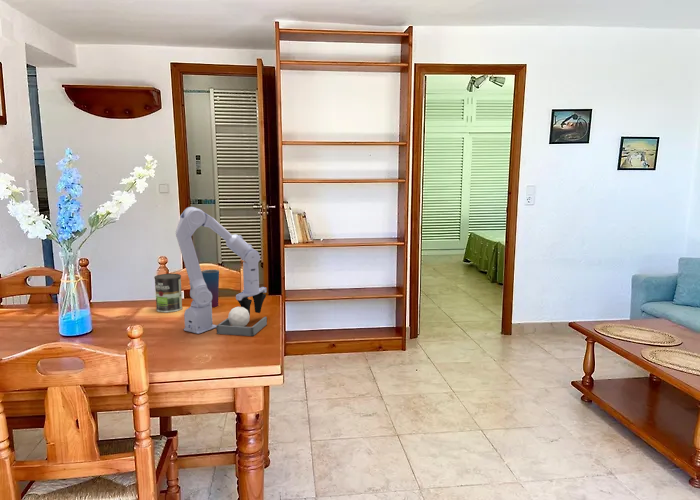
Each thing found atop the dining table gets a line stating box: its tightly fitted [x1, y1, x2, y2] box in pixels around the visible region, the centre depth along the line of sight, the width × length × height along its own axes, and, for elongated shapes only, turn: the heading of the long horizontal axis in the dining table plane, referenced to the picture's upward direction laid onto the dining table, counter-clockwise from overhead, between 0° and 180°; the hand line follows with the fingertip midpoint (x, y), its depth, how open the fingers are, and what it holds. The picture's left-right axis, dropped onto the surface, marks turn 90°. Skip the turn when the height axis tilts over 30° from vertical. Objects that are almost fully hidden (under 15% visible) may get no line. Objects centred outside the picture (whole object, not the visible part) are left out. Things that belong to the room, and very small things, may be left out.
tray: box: [215, 316, 268, 337], centre depth 183 cm, size 14×14×3 cm
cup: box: [201, 269, 220, 308], centre depth 213 cm, size 7×7×15 cm
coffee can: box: [154, 273, 183, 314], centre depth 207 cm, size 10×10×14 cm
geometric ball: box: [227, 306, 251, 327], centre depth 185 cm, size 8×8×8 cm
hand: (252, 314), depth 192 cm, fingers open, 5 cm apart
